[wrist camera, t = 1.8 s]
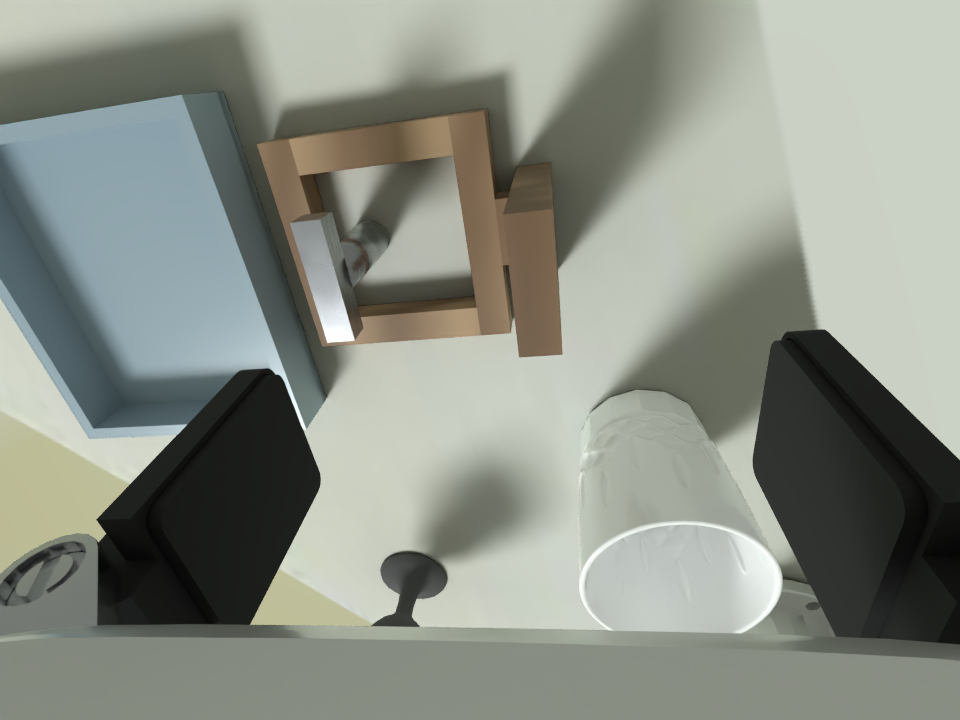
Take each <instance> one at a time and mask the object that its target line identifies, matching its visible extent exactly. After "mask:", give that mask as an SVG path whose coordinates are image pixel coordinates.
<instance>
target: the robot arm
mask: <svg viewBox="0 0 960 720" xmlns="http://www.w3.org/2000/svg"><path fill="white" fill-rule="evenodd" d="M753 469H754V473H755V476H756V479H757V481H758V483H759V485H760V487H761V489H762V491H763V493H764V495H765V497H766V499H767V501H768V503H769V505H770V507H771V509H772V511H773V513H774V515H775V517H776V519H777V521H778V522H779V524H780V526H781V528H782V530H783V532H784V534H785V536H786V538H787V540H788V542H789V544H790V546H791V548H792V550H793V552H794V554H795V556H796V558H797V560H798V562H799V564H800V566H801V568H802V570H803V572H804V574H805V576H806V578H807V580H808V582H809V584H810V585H808V584H804V583H800V582H797V581H793V580H785V579H783V586H782V591H781V595H780V597H779V600H778V602H777V603H776V605H775V607H774V608H773V609H772V611H771V612H770V613H769V614H768V615H767V616H766V617H765V618H764V619H763V620H762V621H761V622H759V623H758V624H757V625H755V626H754V627H752V628H751V629H749V630H747V631H745V632H744V633H701V632H655V631H610V630H564V629H508V628H451V627H386V626H310V625H307V626H306V625H250V623H251V621H252V620H253V618H254V616H255V614H256V612H257V610H258V608H259V606H260V604H261V602H262V600H263V598H264V596H265V594H266V592H267V590H268V588H269V586H270V584H271V582H272V580H273V579H274V576H275V575H276V573H277V571H278V569H279V567H280V565H281V563H282V561H283V559H284V557H285V555H286V553H287V551H288V549H289V547H290V545H291V543H292V541H293V539H294V537H295V536H296V534H297V532H298V530H299V528H300V526H301V524H302V522H303V520H304V518H305V516H306V514H307V512H308V510H309V508H310V506H311V504H312V502H313V500H314V498H315V496H316V494H317V493H318V490H319V488H320V481H321V478H320V472H319V469H318V467H317V464H316V462H315V459H314V457H313V454H312V451H311V449H310V446H309V444H308V441H307V439H306V436H305V433H304V431H303V428H302V426H301V423H300V421H299V418H298V416H297V413H296V410H295V408H294V405H293V403H292V400H291V398H290V395H289V392H288V390H287V387H286V385H285V382H284V380H283V378H282V377H281V376H280V375H276V374H275V373H274V372H273V371H272V370H271V369H269V368H263V369H249V370H240V371H239V372H237V373H236V374H235V375H234V376H233V377H232V378H231V379H230V380H229V381H228V383H227V384H226V385H225V386H224V387H223V388H222V389H221V390H220V391H219V392H218V393H217V394H216V395H215V396H214V397H213V398H212V399H211V400H210V401H209V402H208V403H207V405H206V406H205V407H204V408H203V409H202V410H201V411H200V412H199V413H198V414H197V415H196V416H195V417H194V418H193V419H192V420H191V421H190V422H189V423H188V424H187V425H186V426H185V428H184V429H183V430H182V431H181V432H180V433H179V434H178V435H177V436H176V437H175V438H174V439H173V440H172V441H171V442H170V443H169V444H168V445H167V446H166V447H165V448H164V449H163V451H162V452H161V453H160V454H159V455H158V456H157V457H156V458H155V459H154V460H153V461H152V462H151V463H150V464H149V465H148V466H147V467H146V468H145V469H144V470H143V471H142V472H141V474H140V475H139V476H138V477H137V478H136V479H135V480H134V481H133V482H132V483H131V484H130V485H129V486H128V487H127V488H126V489H125V490H124V491H123V492H122V494H121V495H120V496H119V497H118V498H117V499H116V500H115V501H114V502H113V503H112V504H111V505H110V506H109V507H108V508H107V509H106V510H105V511H104V512H103V513H102V515H100V516H99V518H98V519H97V521H98V523H99V524H100V525H101V527H102V528H103V529H104V531H105V532H106V535H105V536H104V537H103V538H102V539H101V541H100V542H99V543H98V542H97V540H96V539H95V538H94V537H92V536H90V535H89V534H72V535H67V536H62V537H59V538H57V539H54V540H52V541H49V542H46V543H44V544H42V545H40V546H39V547H37V548H35V549H33V550H31V551H29V552H28V553H26V554H25V555H24V556H22V557H21V558H19V559H18V560H16V561H15V562H13V563H12V564H11V565H10V566H9V567H8V568H7V569H5V570H4V571H3V572H2V573H1V574H0V720H960V460H959V459H958V458H957V457H956V456H955V455H954V454H953V453H952V452H951V451H950V450H949V449H948V448H947V447H946V446H945V445H944V444H943V443H941V442H940V441H939V440H938V439H937V438H936V437H935V436H934V435H933V434H932V433H931V432H930V431H929V430H928V429H927V428H926V427H925V426H924V425H923V424H922V423H921V422H920V421H919V420H918V419H917V418H916V417H915V416H914V415H913V414H912V413H911V412H910V411H909V410H908V409H907V408H906V407H905V406H903V404H902V403H901V402H899V401H898V400H897V399H896V398H895V397H894V396H893V395H892V394H891V393H890V392H889V391H888V390H887V389H886V388H885V387H884V386H883V385H882V384H881V383H880V382H879V381H878V380H877V379H876V378H875V377H874V376H873V375H872V374H871V373H870V372H869V371H868V370H867V369H866V368H865V367H864V366H863V365H862V364H860V363H859V362H858V361H857V360H856V359H855V358H854V357H853V356H852V355H851V354H850V353H849V352H848V351H847V350H846V349H845V348H844V347H843V346H842V345H841V344H840V343H839V342H838V341H837V340H836V339H835V338H834V337H833V336H832V335H831V334H830V333H829V332H827V331H826V330H807V331H793V332H787V333H785V334H784V336H783V337H782V340H781V341H774V342H773V344H772V346H771V349H770V355H769V361H768V367H767V374H766V380H765V386H764V392H763V398H762V404H761V410H760V416H759V423H758V429H757V435H756V441H755V447H754V453H753Z"/></svg>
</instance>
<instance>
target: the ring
mask: <svg viewBox="0 0 960 720" xmlns="http://www.w3.org/2000/svg"><path fill="white" fill-rule="evenodd" d="M257 147H258V150H259V153H260V156H261V159H262V162H263V165H264V168H265V171H266V174H267V178H268V181H269V184H270V187H271V190H272V193H273V196H274V199H275V202H276V205H277V209H278V212H279V215H280V218H281V221H282V224H283V227H284V230H285V233H286V236H287V239H288V243H289V246H290V249H291V252H292V255H293V258H294V261H295V264H296V267H297V270H298V274H299V277H300V280H301V283H302V286H303V289H304V292H305V295H306V298H307V301H308V305H309V308H310V311H311V314H312V317H313V320H314V323H315V326H316V329H317V332H318V336H319V339H320V342H321V345H322V347H325V346H339V345H352V344H366V343H380V342H394V341H408V340H422V339H436V338H449V337H463V336H477V335H491V334H505V333H511V327H512V312H511V303H510V295H509V286H508V278H507V269H506V265H509V273H510V281H511V290H512V299H513V308H514V316H515V325H516V334H517V343H518V351H519V357H532V356H547V355H562V338H561V319H560V300H559V281H558V263H557V248H556V233H555V218H554V203H553V188H552V173H551V162H550V163H542V164H535V165H527V166H519V167H517V168H516V172H515V175H514V178H513V182H512V185H511V189H510V191H504V192H497V184H496V175H495V167H494V158H493V149H492V141H491V132H490V124H489V115H488V108H486V109H479V110H473V111H466V112H459V113H452V114H445V115H438V116H431V117H425V118H418V119H411V120H404V121H397V122H390V123H383V124H377V125H370V126H363V127H356V128H349V129H342V130H335V131H329V132H322V133H315V134H308V135H301V136H294V137H287V138H281V139H274V140H270V141H266V142H262V143H259V144H257ZM452 155H454V162H455V168H456V175H457V182H458V188H459V195H460V201H461V208H462V214H463V221H464V228H465V234H466V241H467V247H468V254H469V260H470V267H471V274H472V280H473V287H474V293H475V296H472V297H460V298H448V299H437V300H425V301H413V302H401V303H390V304H378V305H366V306H358V309H359V312H360V316H361V320H362V323H363V327H364V328H363V330H362V331H361V332H360V334H359V335H358V337H357V338H356V340H355V341H343V342H329V343H327V340H326V336H325V333H324V330H323V327H322V324H321V321H320V317H319V314H318V311H317V308H316V305H315V302H314V298H313V295H312V292H311V289H310V286H309V282H308V279H307V276H306V273H305V270H304V267H303V263H302V260H301V257H300V254H299V251H298V248H297V244H296V241H295V238H294V235H293V232H292V229H291V225H290V223H291V222H292V221H294V220H295V219H297V218H299V217H300V216H302V215H306V214H314V213H323V212H324V209H323V205H322V202H321V198H320V194H319V191H318V187H317V184H316V180H315V177H314V174H316V173H324V172H331V171H339V170H346V169H354V168H361V167H369V166H377V165H384V164H392V163H399V162H407V161H415V160H422V159H430V158H437V157H445V156H452Z"/></svg>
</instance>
